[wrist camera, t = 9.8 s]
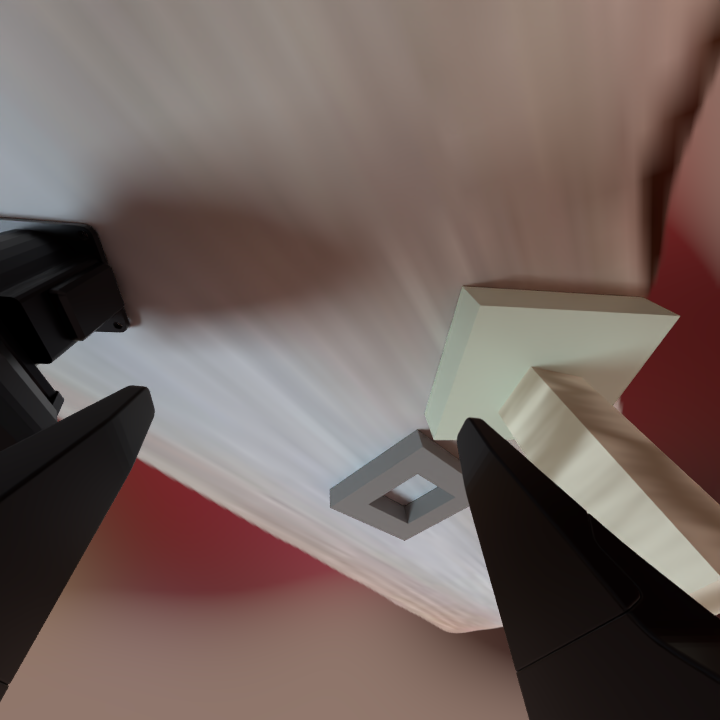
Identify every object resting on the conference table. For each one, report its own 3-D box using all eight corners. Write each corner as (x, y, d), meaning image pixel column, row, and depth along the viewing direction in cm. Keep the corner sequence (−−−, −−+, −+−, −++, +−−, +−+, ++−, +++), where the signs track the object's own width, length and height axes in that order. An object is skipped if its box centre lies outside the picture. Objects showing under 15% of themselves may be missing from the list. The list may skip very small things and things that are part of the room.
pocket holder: (329, 489, 33) (330, 507, 32) (417, 429, 29) (422, 446, 28) (401, 523, 39) (404, 540, 37) (483, 477, 35) (491, 494, 33)
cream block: (497, 412, 24) (630, 622, 14) (530, 366, 22) (722, 578, 11) (545, 419, 25) (703, 620, 15) (581, 377, 23) (800, 580, 12)
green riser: (424, 413, 28) (433, 440, 26) (462, 286, 21) (480, 305, 19) (566, 414, 30) (587, 439, 27) (642, 297, 23) (680, 316, 21)
